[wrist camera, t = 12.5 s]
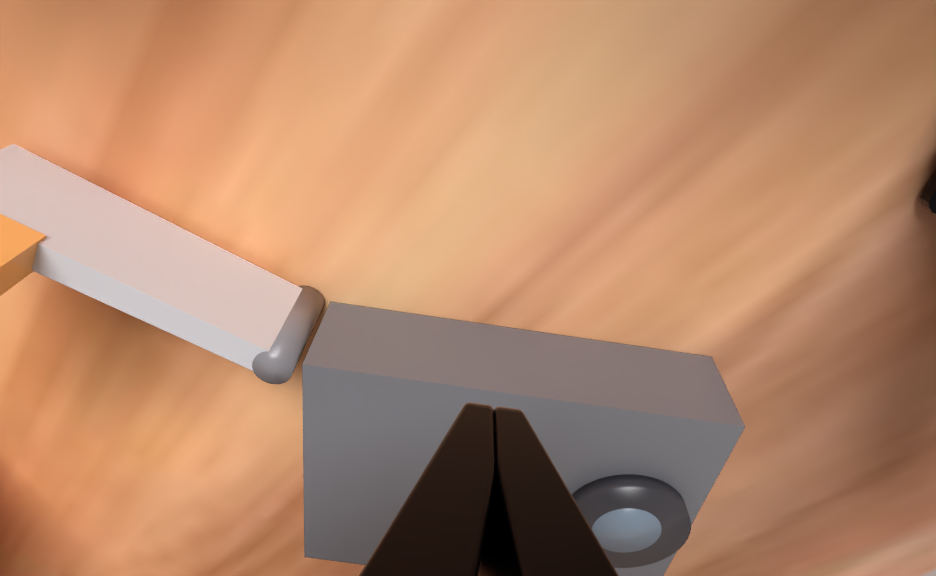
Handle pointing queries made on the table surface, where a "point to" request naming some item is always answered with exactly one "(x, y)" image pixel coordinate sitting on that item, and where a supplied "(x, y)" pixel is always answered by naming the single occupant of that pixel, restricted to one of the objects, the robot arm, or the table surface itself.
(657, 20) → the table surface
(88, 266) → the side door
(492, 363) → the box with round button
